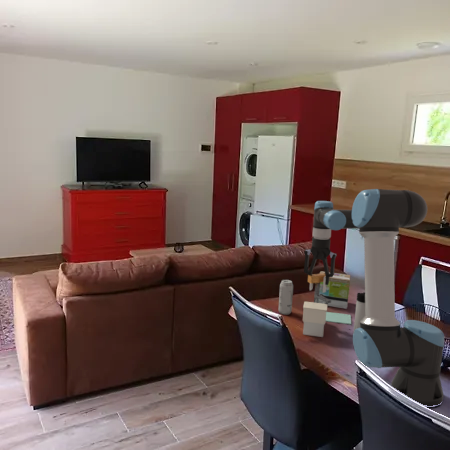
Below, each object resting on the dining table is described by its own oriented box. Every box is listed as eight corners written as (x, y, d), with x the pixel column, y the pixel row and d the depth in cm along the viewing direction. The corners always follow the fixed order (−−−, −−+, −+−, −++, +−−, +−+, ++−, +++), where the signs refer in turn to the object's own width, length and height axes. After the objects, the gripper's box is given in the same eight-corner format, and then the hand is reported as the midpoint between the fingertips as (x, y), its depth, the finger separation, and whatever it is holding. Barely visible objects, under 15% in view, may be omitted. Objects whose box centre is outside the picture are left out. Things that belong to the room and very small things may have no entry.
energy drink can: (290, 315, 203) (292, 284, 201) (277, 313, 205) (278, 282, 203) (292, 311, 209) (294, 280, 206) (279, 309, 211) (281, 278, 208)
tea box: (315, 305, 219) (317, 275, 216) (317, 298, 228) (319, 270, 226) (347, 309, 215) (350, 279, 212) (348, 302, 224) (350, 274, 221)
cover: (325, 324, 180) (326, 310, 178) (302, 321, 182) (303, 307, 181) (326, 317, 187) (327, 304, 186) (303, 314, 189) (304, 301, 188)
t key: (336, 315, 189) (339, 279, 186) (319, 318, 185) (322, 281, 182) (322, 307, 198) (325, 273, 195) (305, 310, 194) (308, 275, 191)
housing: (322, 337, 182) (324, 322, 181) (303, 334, 184) (304, 320, 183) (324, 322, 197) (325, 309, 196) (305, 320, 199) (306, 306, 198)
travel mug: (358, 344, 176) (363, 295, 173) (349, 337, 183) (354, 290, 179) (372, 343, 178) (377, 295, 174) (363, 336, 184) (368, 289, 181)
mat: (351, 324, 196) (351, 323, 196) (325, 321, 199) (325, 320, 198) (350, 315, 206) (350, 314, 206) (326, 312, 209) (326, 311, 209)
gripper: (344, 238, 189) (340, 291, 193) (302, 233, 196) (299, 284, 200) (341, 241, 182) (337, 296, 186) (298, 236, 189) (294, 289, 193)
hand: (317, 290), depth 193 cm, fingers closed on t key, 5 cm apart
